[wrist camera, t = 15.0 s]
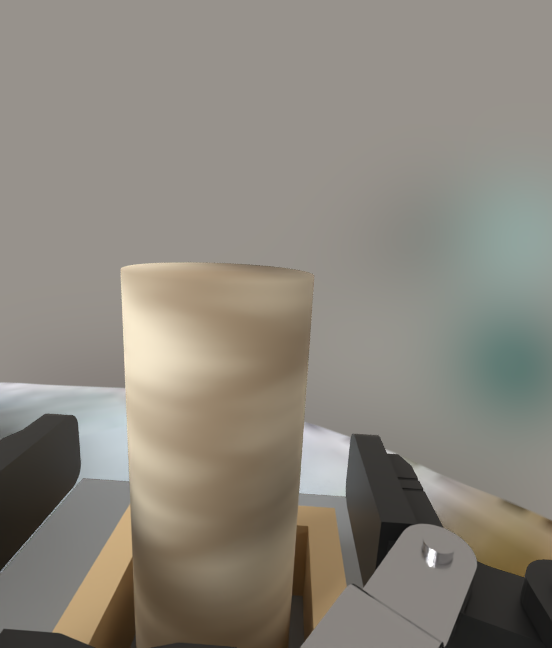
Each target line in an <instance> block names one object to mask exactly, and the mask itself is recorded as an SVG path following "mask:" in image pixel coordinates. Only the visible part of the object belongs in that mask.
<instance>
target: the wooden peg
mask: <svg viewBox="0 0 552 648" xmlns="http://www.w3.org/2000/svg"><path fill="white" fill-rule="evenodd" d="M313 287H314V275H313V274H311V273H309V272H305V271H300V270H295V269H288V268H280V267H271V266H260V265H246V264H228V263H190V262H188V263H187V262H186V263H184V262H183V263H150V264H138V265H130V266H125V267H123V268H121V289H122V314H123V337H124V362H125V387H126V411H127V435H128V459H129V484H130V508H131V532H132V557H133V581H134V605H135V629H136V648H151V647H156V646H162V645H167V644H173V643H178V642H180V643H192V644H205V645H218V646H230V647H237V648H288V643H289V628H290V614H291V600H292V586H293V571H294V557H295V543H296V529H297V515H298V500H299V486H300V472H301V458H302V443H303V429H304V415H305V401H306V387H307V386H306V385H307V371H308V358H309V344H310V329H311V314H312V301H313Z"/></svg>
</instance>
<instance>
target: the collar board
mask: <svg viewBox="0 0 552 648" xmlns="http://www.w3.org/2000/svg"><path fill="white" fill-rule="evenodd" d="M350 584H356V585H357V586H359V587H360V588H362V589H363V588H364V587H363V583H362V578H361V573H360V568H359V563H358V558H357V553H356V548H355V543H354V538H353V534H352V529H351V524H350V519H349V514H348V509H347V503H346V497H344V496H330V495H315V494H301V493H299V500H298V515H297V529H296V543H295V557H294V571H293V586H292V600H291V614H290V628H289V643H288V648H300V647H301V646H302V644H303V643H304V642H305V641H306V639H307V638H308V637H309V635H310V634H311V633H312V631H313V630H314V629H315V627H316V626H317V625H318V623H319V622H320V621H321V619H322V618H323V617H324V616H325V614H326V613H327V612H328V610H329V609H330V608H331V606H332V605H333V604H334V602H335V601H336V600H337V598H338V597H339V596H340V594H341V593H342V592H343V591H344V589H345V588H346V587H347V586H348V585H350ZM3 629H15V630H28V631H41V632H53V633H61V634H64V635H66V636H69V637H71V638H73V639H76V640H78V641H81V642H83V643H85V644H88V645H90V646H93V647H95V648H136V629H135V605H134V581H133V557H132V532H131V508H130V484H129V481H115V480H100V479H86V478H83V479H82V480H81V481H80V483H79V484H78V485H77V486H76V487H75V488H74V489H73V491H72V492H71V493H70V494H69V495H68V496H67V498H66V499H65V500H64V501H63V502H62V503H61V505H60V506H59V507H58V508H57V509H56V510H55V512H54V513H53V514H52V515H51V516H50V517H49V518H48V520H47V521H46V522H45V523H44V524H43V525H42V527H41V528H40V529H39V530H38V531H37V532H36V534H35V535H34V536H33V537H32V538H31V539H30V540H29V542H28V543H27V544H26V545H25V546H24V547H23V549H22V550H21V551H20V552H19V553H18V554H17V556H16V557H15V558H14V559H13V560H12V561H11V562H10V564H9V565H8V566H7V567H6V568H5V569H4V571H3V572H2V573H1V574H0V633H1V632H2V630H3Z"/></svg>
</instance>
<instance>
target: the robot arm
mask: <svg viewBox="0 0 552 648" xmlns="http://www.w3.org/2000/svg"><path fill="white" fill-rule="evenodd" d="M80 467H81V460H80V446H79V432H78V422H77V419H76V417H75V416H73V415H61V414H44V415H43V416H41V417H40V418H39V419H37V420H36V421H34V422H33V423H32V424H30V425H29V426H28V427H26V428H25V429H23V430H21V431H19V432H17V433H14V434H12V435H10V436H7V437H5V438H3V439H2V440H0V571H1V570H2V568H3V567H4V566H5V565H6V564H7V563H8V561H9V560H10V559H11V558H12V557H13V556H14V555H15V553H16V552H17V551H18V550H19V549H20V548H21V546H22V545H23V544H24V543H25V542H26V541H27V540H28V538H29V537H30V536H31V535H32V534H33V533H34V531H35V530H36V529H37V528H38V527H39V526H40V525H41V523H42V522H43V521H44V520H45V519H46V518H47V516H48V515H49V514H50V513H51V512H52V511H53V510H54V508H55V507H56V506H57V505H58V504H59V503H60V501H61V500H62V499H63V498H64V497H65V496H66V495H67V493H68V492H69V491H70V490H71V489H72V488H73V486H74V485H75V483H76V481H77V479H78V476H79V473H80ZM346 503H347V509H348V514H349V519H350V524H351V529H352V534H353V538H354V543H355V548H356V553H357V558H358V563H359V568H360V573H361V578H362V583H363V587H364V588H363V589H362V588H360V587H359V586H357V585H356V584H350V585H348V586H347V587H346V588H345V589H344V591H343V592H342V593H341V594H340V596H339V597H338V598H337V600H336V601H335V602H334V604H333V605H332V606H331V608H330V609H329V610H328V612H327V613H326V614H325V616H324V617H323V618H322V619H321V621H320V622H319V623H318V625H317V626H316V627H315V629H314V630H313V631H312V633H311V634H310V635H309V637H308V638H307V639H306V641H305V642H304V643H303V644H302V646H301V647H300V648H552V560H536V561H533V562H532V563H530V564H529V565H528V567H527V570H526V574H525V578H524V577H521V576H518V575H515V574H511V573H508V572H505V571H502V570H499V569H495V568H492V567H490V566H487V565H484V564H482V563H480V562H478V561H477V560H476V556H475V554H474V552H473V550H472V549H471V548H470V546H469V545H468V544H467V543H466V542H465V541H464V540H463V539H461V538H460V537H459V536H457V535H456V534H454V533H452V532H451V531H449V530H447V529H444V528H443V526H442V524H441V522H440V520H439V518H438V516H437V514H436V512H435V511H434V509H433V507H432V505H431V503H430V501H429V499H428V497H427V495H426V493H425V492H424V491H423V487H422V486H421V484H420V482H419V481H418V478H417V476H416V474H415V472H414V470H413V468H412V466H411V465H410V464H409V463H407V462H406V461H405V460H404V459H403V458H402V457H400V456H399V455H398V454H387V452H386V450H385V448H384V446H383V443H382V441H381V439H380V437H379V436H378V435H364V434H352V436H351V440H350V449H349V459H348V469H347V479H346ZM0 648H95V647H93V646H90V645H88V644H85V643H83V642H81V641H78V640H76V639H73V638H71V637H69V636H66V635H64V634H61V633H53V632H41V631H28V630H15V629H3V630H2V632H1V633H0ZM151 648H237V647H230V646H218V645H205V644H192V643H180V642H178V643H173V644H167V645H162V646H156V647H151Z"/></svg>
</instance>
